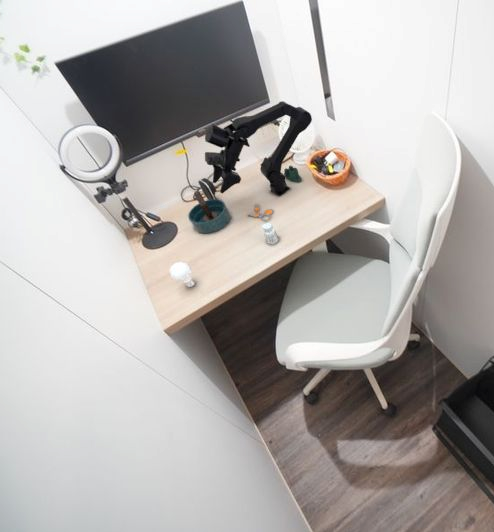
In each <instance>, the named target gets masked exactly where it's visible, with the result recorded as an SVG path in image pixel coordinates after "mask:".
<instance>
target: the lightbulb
mask: <svg viewBox="0 0 494 532" xmlns="http://www.w3.org/2000/svg"><path fill="white" fill-rule="evenodd" d="M169 274H170V276H171V277H172V278H173V279H174V280H175V281H178V282H182V283H184V284H185V285H186V287H188V288H191V287H193V286H194V285H195V284H196V282H195V280H194V279H193V277H192V268H191V266H190V265H189V264H188V263H187V262H184V261H177V262H175V263H173V264H172V265H171V266H170V268H169Z"/></svg>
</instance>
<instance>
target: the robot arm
mask: <svg viewBox="0 0 494 532" xmlns="http://www.w3.org/2000/svg"><path fill="white" fill-rule="evenodd" d="M311 114H312V113H310V112H309V111H308V110H306V109H304V108H303V107H301V106H296V107H295V106H294V105H291V104H290V103H287V102H285V101H279V102H278V103H277V104H275V105H272V106H270V107H267V108H266V109H263V110H262V111H260V112H257V113H255V114H253V115H245V116H241V117H237V118H236V117H235V119H233V120H232V122H231V123H230V124H228V125H226V126H224V127H220V126H219V125H217V124H215V123H211V126H209V127H208V128H207V130H206V131H205V135H204V140H205V142H206V143H208V144H211V145H213V146H216V147H218V148H220V149H221V150H220V152H213V151H205V152H204V161H205V162H206V164H207V165H208V166H212V168H213V174H212V183H213V184H216V183H218V181H219V180H220V179H222V182H221V186H220V190H219V192H220V194H224V193H225V192H227V191H228V190H229V189H231V188H232V187H233V186H235V185H238V184H240V183H241V181H242V178H241V176H240V174H239V173H238V172H237V168H236V165H237V163H238V162H240V161H241V158H240V156H241V153H242V151H243V148H244V147H245V146H246V147H248V148H249V147H251V145H250V143H249V140H248V139H249V138H250V137H252V136H253V135H254V134H256V133H257V131H258V130H259V129H260V128H262V127H264V126H266V125H268V124H270V123H272V122H274V121H276V120H278V119H280V118H283V117H284V116H287V117H289V123H288V128H287V129H286V131H285V132H284V134H283V136H282V138H281V140H280V141H279V142H278V145H277V146H276V148H275V150H274V152H273V153H272V155H271V156H269V157H266V156H265V157H264V158H263V161H262V162H261V163H260V167H259V170H260V174H262V175H263V177H264V178H265V179H266V180H267V181H268V182H269V188H270V192H271V193H272V194H275V195H277V196H278V197H281V196H282V195H283V194H285V193H287V192H288V191H289V190H290V189H291V188H290V186H288V184H287V181H286V177H285V175H284V173H283V172H282V165H283V162H284V160H285V159H286V157H287V155H288V153H289V152H290V150H291V148H292V147H293V145H294V143H295V142H296V140H297V138H298V137H299V135H300V134H301V133H302V132H304V131H305V130H306V129H308V127H309V126H310V125H311V123H312V121H313V119H312V117H313V116H312V115H311ZM223 148H224V149H223Z"/></svg>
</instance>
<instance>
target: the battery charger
mask: <svg viewBox="0 0 494 532" xmlns="http://www.w3.org/2000/svg"><path fill="white" fill-rule="evenodd" d="M198 184H199V187H200V189H201V190H202V192H203V194H204V195H205V198H206V200H210V199H218V198H217V197H216V192H217V188H216V187H215V185H214V183H213V181H211V180H209V179H208V178H206V177H204V178H201V179H199V180H198Z"/></svg>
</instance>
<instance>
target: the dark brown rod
mask: <svg viewBox="0 0 494 532" xmlns="http://www.w3.org/2000/svg"><path fill="white" fill-rule="evenodd" d="M193 195H194V197H195V199H196V201H197V202H198V204H200V206H201V207H202V209H203V211H204V213H205V214H206V215H205V216H204V217H203V220H204V221H205V222H207V221H210V220H212V219H215V218H216V217H217V216H218V214H217V213H216V212H211V211H210V209H209V207H208V206H207V204H206V202H205V201H206V200H205V198H204V197H203V195H202V193H201V192H200V191H198V190H196V191H194V193H193Z"/></svg>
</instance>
